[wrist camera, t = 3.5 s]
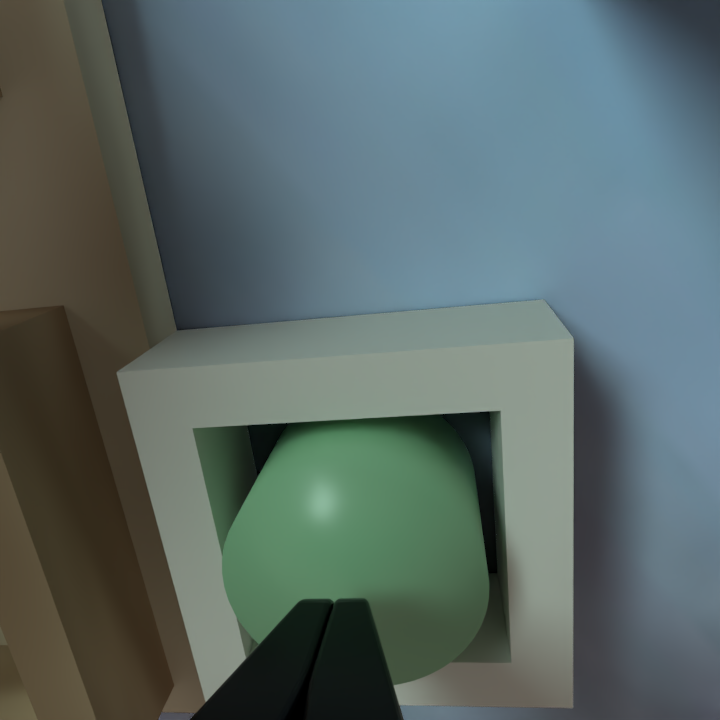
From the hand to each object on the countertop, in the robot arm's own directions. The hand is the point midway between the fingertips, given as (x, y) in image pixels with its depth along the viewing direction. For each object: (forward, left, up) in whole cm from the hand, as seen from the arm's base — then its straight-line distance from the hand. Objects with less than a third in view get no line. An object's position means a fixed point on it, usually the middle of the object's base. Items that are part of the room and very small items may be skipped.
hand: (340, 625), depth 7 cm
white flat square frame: (0, 0, -3) cm, 3 cm away
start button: (0, 0, -3) cm, 3 cm away
